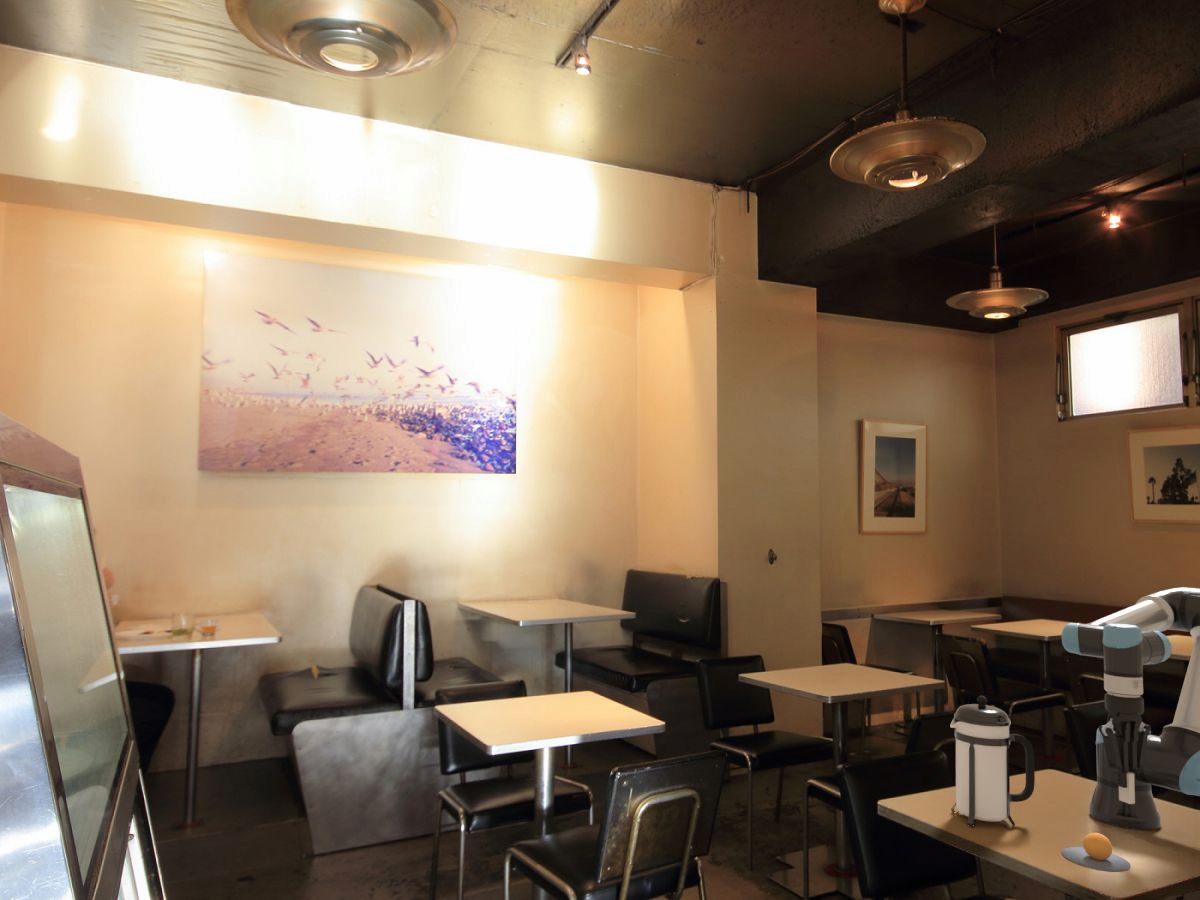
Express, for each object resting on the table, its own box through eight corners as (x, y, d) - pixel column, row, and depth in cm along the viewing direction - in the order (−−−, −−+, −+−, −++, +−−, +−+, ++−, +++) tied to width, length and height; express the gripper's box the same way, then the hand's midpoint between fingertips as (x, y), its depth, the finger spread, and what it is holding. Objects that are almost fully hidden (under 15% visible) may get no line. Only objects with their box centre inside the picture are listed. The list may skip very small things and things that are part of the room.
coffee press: (1003, 837, 195) (1002, 705, 198) (938, 817, 208) (938, 693, 210) (1036, 822, 206) (1035, 698, 209) (972, 804, 219) (972, 687, 221)
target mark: (1093, 845, 192) (1093, 844, 192) (1145, 868, 180) (1145, 867, 180) (1047, 850, 188) (1047, 849, 188) (1098, 873, 176) (1098, 872, 176)
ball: (1073, 846, 185) (1089, 859, 187) (1095, 855, 180) (1111, 869, 181) (1084, 824, 187) (1099, 837, 188) (1106, 832, 182) (1122, 846, 183)
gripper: (1116, 698, 184) (1119, 809, 182) (1161, 696, 188) (1164, 804, 186) (1087, 691, 191) (1089, 798, 189) (1130, 689, 195) (1133, 794, 193)
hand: (1126, 801), depth 188 cm, fingers closed
